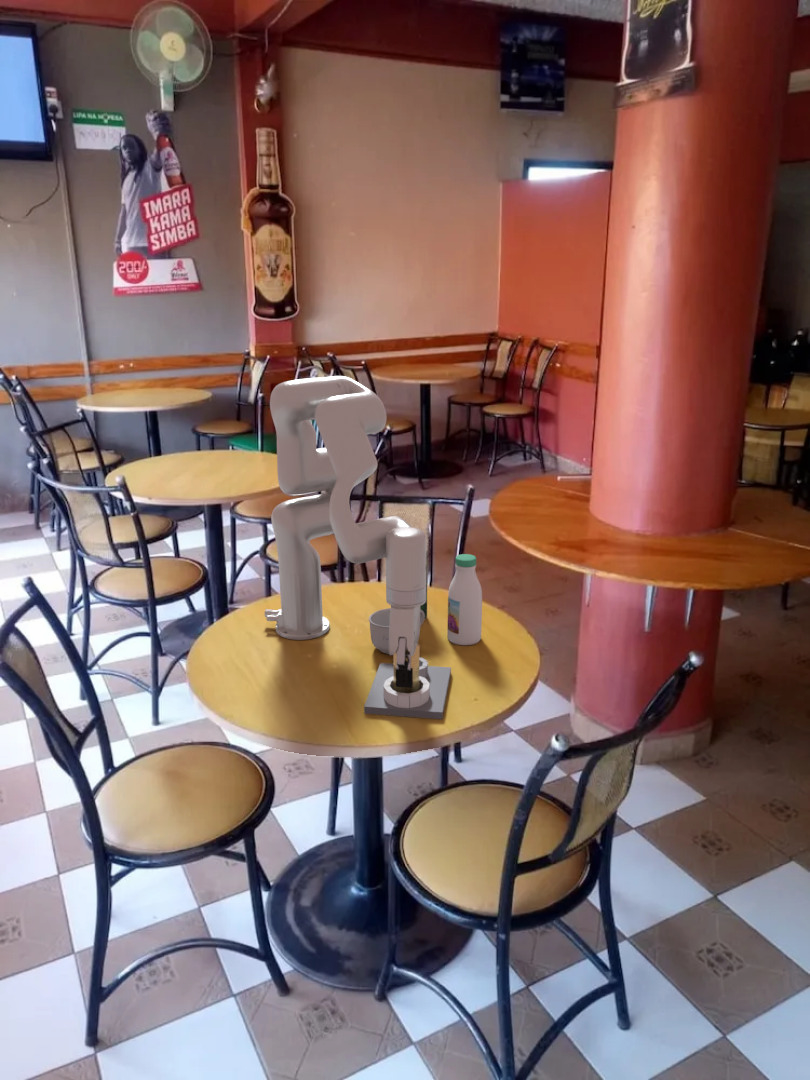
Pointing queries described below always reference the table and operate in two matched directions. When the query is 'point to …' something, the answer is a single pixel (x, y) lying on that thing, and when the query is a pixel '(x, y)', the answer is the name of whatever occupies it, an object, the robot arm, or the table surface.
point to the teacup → (383, 628)
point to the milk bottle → (465, 603)
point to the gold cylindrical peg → (415, 672)
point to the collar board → (419, 712)
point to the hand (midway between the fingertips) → (406, 678)
